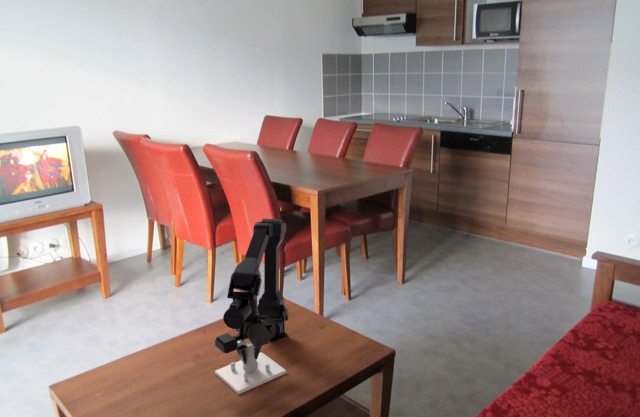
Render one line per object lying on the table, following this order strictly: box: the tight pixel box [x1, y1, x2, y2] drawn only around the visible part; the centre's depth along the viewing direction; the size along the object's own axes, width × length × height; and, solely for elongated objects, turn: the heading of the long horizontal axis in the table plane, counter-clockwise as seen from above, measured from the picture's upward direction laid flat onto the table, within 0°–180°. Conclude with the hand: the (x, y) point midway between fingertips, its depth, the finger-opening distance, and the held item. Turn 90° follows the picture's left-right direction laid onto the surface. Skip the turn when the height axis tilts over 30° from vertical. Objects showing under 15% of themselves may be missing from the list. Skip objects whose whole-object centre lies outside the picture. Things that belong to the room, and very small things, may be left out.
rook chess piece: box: [243, 341, 258, 372], centre depth 156 cm, size 4×4×8 cm
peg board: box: [214, 351, 287, 395], centre depth 157 cm, size 16×13×3 cm
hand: (250, 361), depth 156 cm, fingers closed on rook chess piece, 3 cm apart
